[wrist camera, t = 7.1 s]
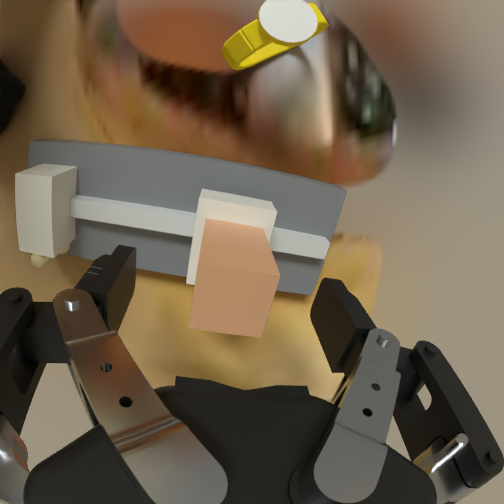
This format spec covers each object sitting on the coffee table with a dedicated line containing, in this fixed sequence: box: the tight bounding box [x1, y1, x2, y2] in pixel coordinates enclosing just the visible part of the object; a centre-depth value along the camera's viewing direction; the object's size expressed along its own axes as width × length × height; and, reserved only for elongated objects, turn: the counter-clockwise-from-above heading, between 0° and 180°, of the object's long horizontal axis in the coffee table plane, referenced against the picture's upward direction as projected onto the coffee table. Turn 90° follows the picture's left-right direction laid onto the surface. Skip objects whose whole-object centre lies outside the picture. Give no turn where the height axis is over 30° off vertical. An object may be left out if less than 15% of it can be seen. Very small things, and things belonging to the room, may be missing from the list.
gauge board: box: [15, 139, 347, 295], centre depth 17 cm, size 8×22×5 cm, turn 77°
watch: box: [221, 0, 329, 70], centre depth 12 cm, size 6×3×6 cm, turn 120°
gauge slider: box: [186, 189, 280, 338], centre depth 15 cm, size 6×4×8 cm, turn 167°
